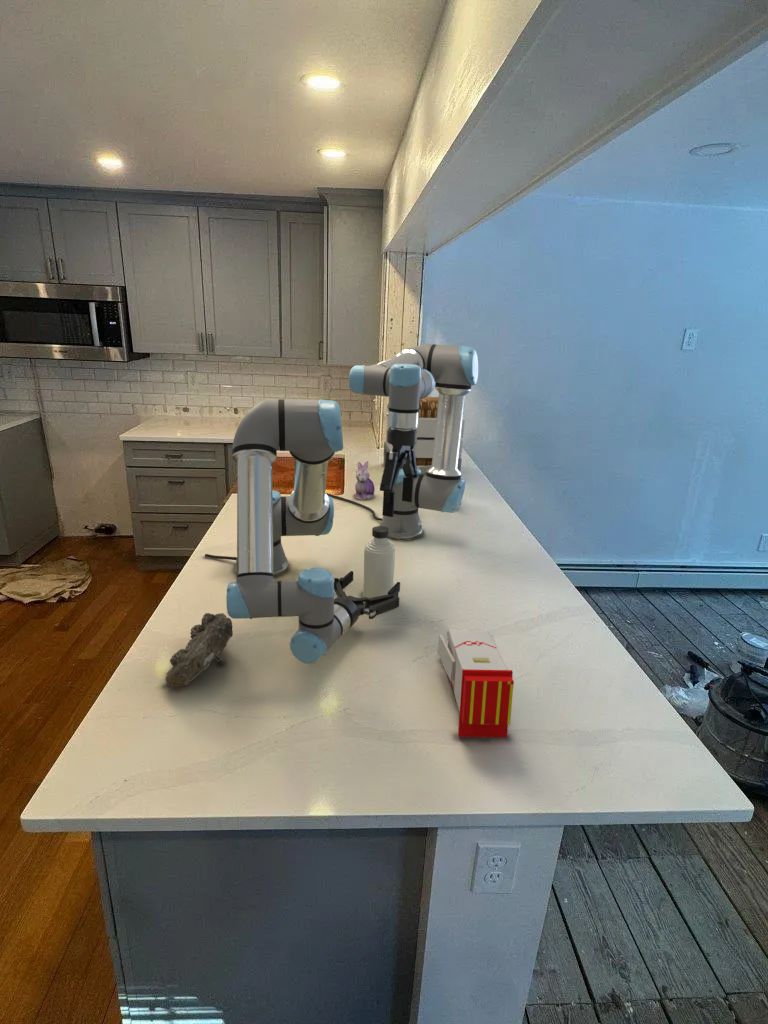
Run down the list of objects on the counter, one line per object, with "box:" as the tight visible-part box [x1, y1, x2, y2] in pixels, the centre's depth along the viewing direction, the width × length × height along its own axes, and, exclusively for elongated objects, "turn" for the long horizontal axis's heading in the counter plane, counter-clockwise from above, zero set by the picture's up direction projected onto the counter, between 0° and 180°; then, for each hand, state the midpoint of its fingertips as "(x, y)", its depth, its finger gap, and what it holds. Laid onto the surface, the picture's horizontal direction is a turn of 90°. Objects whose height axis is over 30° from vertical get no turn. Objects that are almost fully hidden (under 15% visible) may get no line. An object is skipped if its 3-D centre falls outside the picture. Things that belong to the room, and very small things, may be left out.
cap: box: [371, 525, 389, 539], centre depth 150 cm, size 4×4×2 cm
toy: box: [437, 628, 515, 738], centre depth 117 cm, size 12×13×30 cm
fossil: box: [165, 612, 234, 688], centre depth 123 cm, size 22×10×15 cm
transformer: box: [383, 396, 465, 474], centre depth 268 cm, size 34×33×41 cm
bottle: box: [362, 537, 396, 598], centre depth 153 cm, size 8×8×20 cm
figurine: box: [354, 460, 376, 501], centre depth 234 cm, size 9×10×15 cm
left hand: (375, 581), depth 151 cm, fingers open, 13 cm apart
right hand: (397, 508), depth 149 cm, fingers open, 13 cm apart
